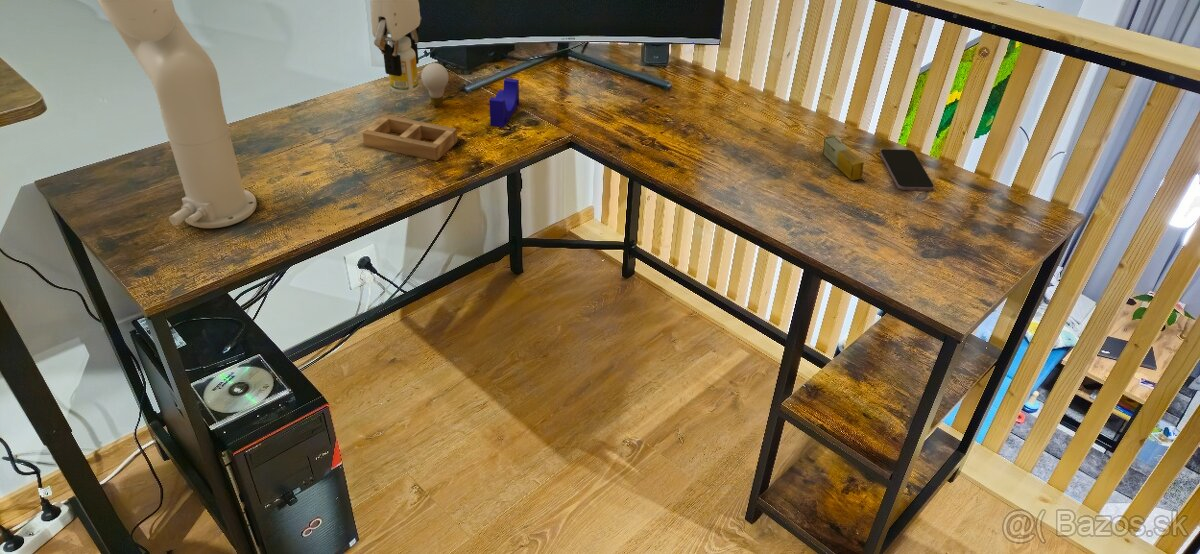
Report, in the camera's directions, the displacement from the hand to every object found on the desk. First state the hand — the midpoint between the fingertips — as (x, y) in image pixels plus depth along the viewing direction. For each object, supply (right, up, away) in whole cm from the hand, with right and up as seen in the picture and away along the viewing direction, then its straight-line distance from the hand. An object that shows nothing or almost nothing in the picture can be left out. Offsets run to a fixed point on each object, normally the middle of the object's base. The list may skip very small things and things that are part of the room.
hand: (402, 67), depth 160 cm
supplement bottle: (0, -3, +3) cm, 4 cm away
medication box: (+87, -17, +13) cm, 90 cm away
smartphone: (+100, -18, +13) cm, 103 cm away
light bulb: (+1, -1, +30) cm, 30 cm away
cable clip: (+16, -4, +28) cm, 32 cm away
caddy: (-2, -12, +16) cm, 20 cm away
